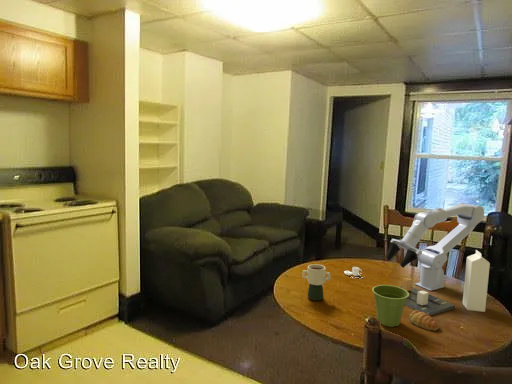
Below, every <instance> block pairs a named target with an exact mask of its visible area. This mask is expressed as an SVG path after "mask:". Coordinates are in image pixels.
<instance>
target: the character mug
mask: <svg viewBox="0 0 512 384" xmlns="http://www.w3.org/2000/svg"><path fill="white" fill-rule="evenodd" d="M326 270H327V269H326V266H325V265H322V264H316V263H315V264H314V263H313V264H309V265H308V266H307V270H306V269H303V270H302V274H301V275H302V278H303V279H306V280H307V283H308V284H309V285H308V290H307V298H308V299H310V300H313V301H321V300H323V299H324V297H325V296H324V286H323V285H324V284H325V282H326V281H330V280H331V272H328V271H326ZM306 274H307V275H306ZM326 275H327V277H326Z"/></svg>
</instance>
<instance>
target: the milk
mask: <svg viewBox="0 0 512 384" xmlns="http://www.w3.org/2000/svg"><path fill="white" fill-rule="evenodd" d="M490 265H491V263H490V262H489V261H488V260H487V259H485V258H484V257H483V256H482V253H481V252H480V251H478V250H477V249H475V253H474V254H471V255H468V256H466V262H465V272H464V273H465V274H464V284H463V294H462V295H463V296H462V304H463V306H464V308H465V309H466V310H467V311H473V312H481V313H482V312H484V313H485V312H486V306H487V305H486V304H487V295H488V285H489V275H490Z"/></svg>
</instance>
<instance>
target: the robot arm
mask: <svg viewBox="0 0 512 384" xmlns="http://www.w3.org/2000/svg"><path fill="white" fill-rule="evenodd" d="M454 216H456V221H457V223H458V224H457V226H456V227H455V228H453V229H452V230H451V231H449V233H447V235H445V236H444V237H443V238H442V239H440V241H438V242H437V243H436V244H434V245H429V246H427V247H425V248H423V249H419V248H416V246H417V244H419V242H420V240H421V239H422V237H423V236H424V235H425V233H426V231H427V230H428V229H429V228H430V229H431V228H433V227H434V226H435V225H436V224H440V223H443V222H445V221H447V219H448V218H450V217H454ZM413 218H414V219H413V222H412V223H411V224H412V225H411V226H410V228H409V229H408V230H407V232H406V233H405V234H404V236H403V237H402V239H396V238H391V240H390V242H389V244H388V245H389V246H388V251H387V254H386V257H385V258H386V260H387V261H391V260H392V259H393V257H394V256H395V255H396V254H397V253H398V252H399V251H401V249H404V250H405V251H406V253H405V256H403V259H402V260H401V262H400V263H399V266H401V268H405V267H406V266H407V265H409V264H410V263H411V262H413V261H415V260H417V261H418V262H419V265H420V275H419V282H415V283H414V284H415V285H416V286H418V287H420V288H423V289H425V290H428V291H430V292H431V291H434V290H438V289H442V288H445V285H444V275H445V273H444V272H445V271H444V269H443V268H442V267H444V264H445V263H446V261H448V256H447V254H448V253H449V252H450V251H451V250H452V249H454V248H455V247H456V246H457V245H458V244H459V243H460V242H461V241H462V240H464V239H465V238H466V237H467V236H468V235H469V234H471V232H473V230H474V229H475V228H476V226H477V225H478V224H479V223H481V222H482V220H484V219H485V209H484V207H483V206H482V205H476V204H475V205H473V204H469V203H465V202H461V203H457V204H456V205H453V206H451V207H449V208H445V209H444V208H441V207H436V208H435V209H433V210H426V212H423V211H420V212H418V213H416V214H415V215H414V217H413Z"/></svg>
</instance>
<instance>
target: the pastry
mask: <svg viewBox="0 0 512 384" xmlns="http://www.w3.org/2000/svg"><path fill="white" fill-rule="evenodd" d="M408 320H409V321H410V323H411V324H414V325H415V326H417V327H419V328H421V329H425V330H427V331H437V330H439V328H440V324H439V322H438V321H437V320H436V319H434V317H432V316H429V314H425V312H420V311H418V310H415V309H413V311H412V312H411V313H410V314H409V317H408Z"/></svg>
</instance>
